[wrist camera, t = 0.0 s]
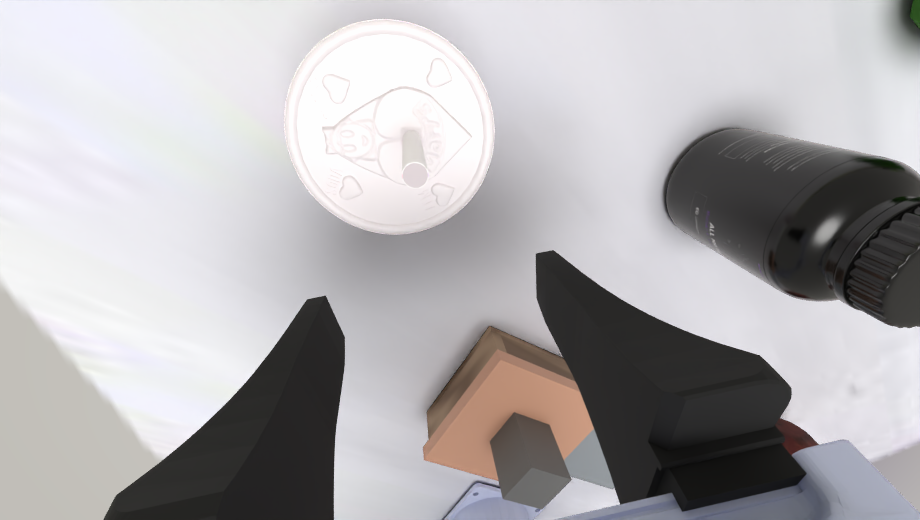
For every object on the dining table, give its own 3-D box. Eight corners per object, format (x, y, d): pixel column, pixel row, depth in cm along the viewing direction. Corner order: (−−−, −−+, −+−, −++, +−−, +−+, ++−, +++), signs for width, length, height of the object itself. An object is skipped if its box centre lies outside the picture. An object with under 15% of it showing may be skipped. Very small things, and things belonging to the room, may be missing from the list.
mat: (610, 485, 38) (612, 489, 37) (519, 456, 34) (520, 460, 34) (699, 400, 34) (702, 404, 34) (607, 358, 30) (609, 361, 30)
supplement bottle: (642, 221, 25) (815, 337, 15) (696, 113, 23) (957, 158, 12) (727, 242, 27) (939, 360, 16) (788, 143, 24) (1089, 206, 14)
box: (519, 442, 33) (529, 475, 31) (426, 412, 30) (428, 445, 28) (585, 367, 30) (602, 396, 28) (489, 325, 27) (498, 354, 25)
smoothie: (459, 166, 22) (529, 298, 10) (343, 171, 22) (260, 319, 9) (458, 36, 19) (554, -11, 7) (324, 37, 19) (164, -15, 6)
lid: (530, 478, 31) (552, 548, 26) (423, 447, 28) (426, 520, 23) (608, 395, 28) (647, 458, 23) (497, 349, 25) (517, 412, 20)
